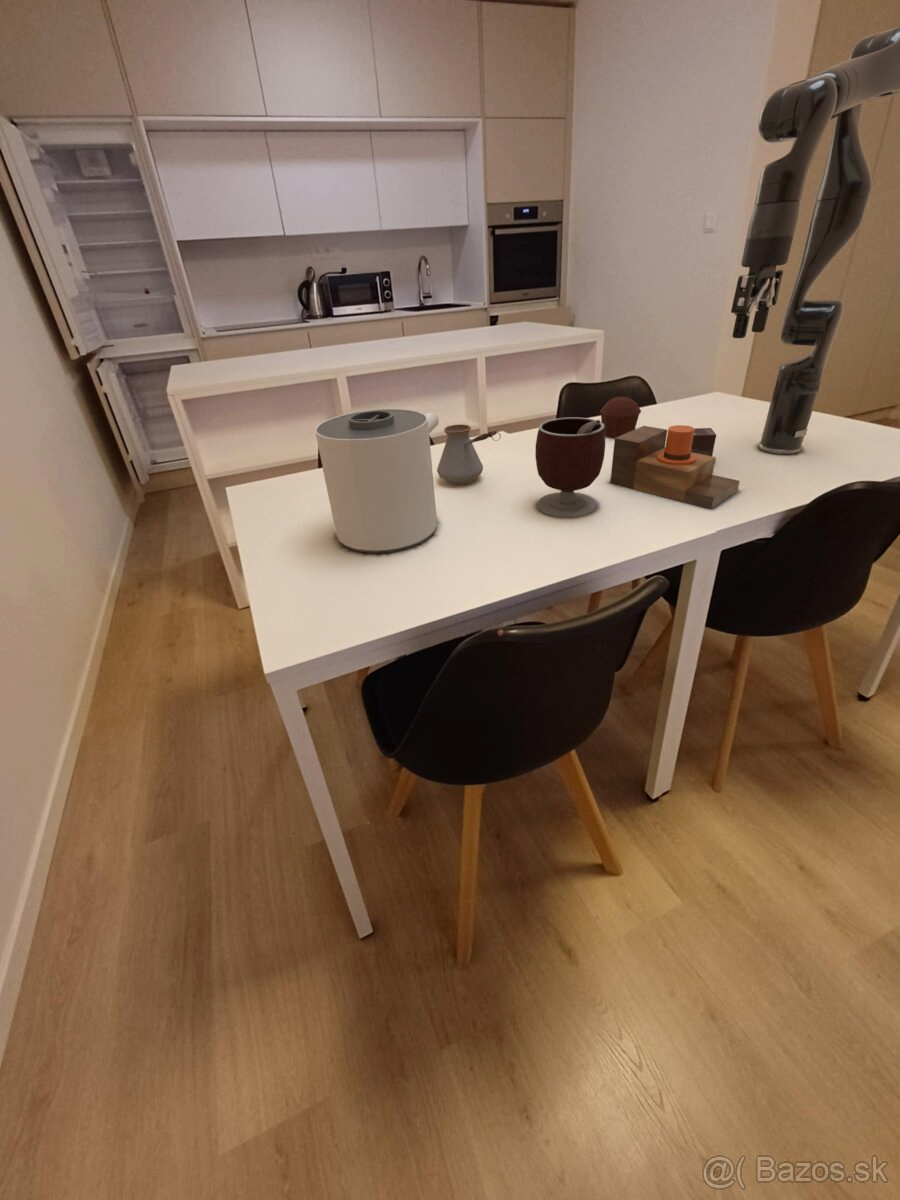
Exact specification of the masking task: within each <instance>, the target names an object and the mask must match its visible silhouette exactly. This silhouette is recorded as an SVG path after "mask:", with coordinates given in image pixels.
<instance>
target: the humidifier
mask: <svg viewBox="0 0 900 1200" xmlns="http://www.w3.org/2000/svg"><path fill="white" fill-rule="evenodd" d="M439 422H440V420H439V417H438V415H437V414H436V413H434V412H428V413H426V414H425V413H423V412H421V411H418V410H414V409H413V410H412V409H407V408H406V409H405V408H379V409H378V408H377V409H367V410H361V411H355V412H350V413H343V414H340V415H338V416H334V417H332V418H328V419H326V420H324V421H322V422H320V423H319V424H318V425H317V426H316V427H315V429H314V433H315V438H316V442H317V448H318V453H319V457H320V462H321V467H322V472H323V475H324V476H323V477H324V481H325V485H326V492H327V495H328V501H329V505H330V510H331V515H332V519H333V525H334V529H335V535H336V538H337V540H338V542H339V543H340V544H341V545H342V546H343V547H345V548H347V549H349V550H352V551H355V552H358V553H366V554H387V553H394V552H401V551H405V550H407V549H410V548H413V547H415V546H419V545H421V544H422V543H424V542H426V541H427V540H429V538H431V537H432V536H433V535H434V534H435V533H436V530H437V527H438V518H437V517H438V516H437V507H436V506H437V505H436V494H435V484H434V473H433V462H432V461H433V460H432V452H431V451H432V449H431V440H430V439H431V437H430V433H432V431H433V430H434V429H435V428H436V427H437V426H438V425H439Z"/></svg>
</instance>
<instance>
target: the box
mask: <svg viewBox="0 0 900 1200" xmlns="http://www.w3.org/2000/svg"><path fill="white" fill-rule="evenodd" d="M693 428H694V429H695V431H694V436H693V442H692V447H691V452H693V453H698V454H703V455H708V456H713V453H714V448H715V444H716V440H717V439H716V438H717V433H716V432H715V431H714V430H713V428H712V427H698V428H697V427H696V428H695V427H693Z"/></svg>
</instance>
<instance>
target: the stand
mask: <svg viewBox="0 0 900 1200" xmlns="http://www.w3.org/2000/svg"><path fill="white" fill-rule="evenodd" d="M667 434H668V429H666V428H659V427H654V426H649V425H642V426H639V427H637V428H635V430H633V431H630V432H628V433H626V434H623V435H621V436H619V437H616V438H614V441H613V450H612V451H613V452H612V462H611V471H610V479H609V480H610V482H609V483H610V484H613V485H616V486H617V485H618V486H621V487H624V488H629V489H633V490H637V491H640V492H644V493H648V494H652V495H655V496H660V497H663V498H667V499H672V500H675V501H678V502H683V503H687V504H690V505H694V506H698V507H702V508H706V509H709V510H712V509H714V508H715V507H717V506H718V505H720V504H721V503H723V502H724V501H725V500H727V499H728V498H730V497H732V496H733V495H735V494H736V493H737V492H738V491H739V487H740V482H741V480H739V479H734V478H729V477H725V476H720V475H716V474H713V473H714V470H715V469H714V468H715V464H716V459H717V457H716V456H713V455H712V456H708V455H703V454H698V453H693V452H691V453H692V454H694V455H696V457H697V458H696V461H695V462H694V463H692V464H688V465H670V464H665V463H662V462H660V461H658V460H657V455H658V454H659V453H661V452H664V451H665V447H666V440H667Z"/></svg>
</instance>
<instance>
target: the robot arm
mask: <svg viewBox="0 0 900 1200" xmlns="http://www.w3.org/2000/svg"><path fill="white" fill-rule="evenodd" d="M898 93H900V26H898V27H897V26H896V27H894V28H890V29H886V30H884V31H880V32H877V33H873V34H871V35H867V36H865V37H863V38H861V39H860V40H858V41H857V43H856V44H855V46H854V47H853V48H852V50H851V52H850V54H849V57H848V59H847V60H844V61H842V62H839V63H837V64H834V65H831V66H830V67H828V68H826V69H824V70H822V71H820V72H819V73H817V74H816V75H813V76H811V77H808V78H806V79H801V80H798V81H795V82H792V83H789V84H787V85H784V86H781V87H779V88H778V89H776V90H775V91H773V92H772V93H771V95H770V96H769V97H768V98H767V100H766V101H765V103H764V104H763V106H762V109H761V111H760V114H759V119H758V133H759V135H760V137H761V139H762V140H763V141H764V142H766V143H768V144H779V143H783V142H789V141H794V143H793V145H792V147H791V148H790V150H789V151H788V153H786V154H785V155H784V156H782V157H780V158H778V159H775V160H772V161H771V162H769V163H767V164H766V165H764V166H763V168H762V170H761V172H760V175H759V180H758V186H757V189H756V195H755V200H754V206H753V209H752V213H751V216H750V219H749V224H748V227H747V233H746V237H745V243H744V249H743V254H742V258H741V263H740V264H741V267H743V268H748V269H749V270H748V273H747V275H746V274H745V275H739V276H738V278H737V283H736V287H735V291H734V296H733V301H732V306H731V310H730V312H731V314H734V316H735V320H734V326H733V330H732V338H733V339H744V338H745V337H746V336H747V331H748V328H749V322H750V318H751V314H752V311H753V309H754V307H755V308H756V309H755V312H754V317H753V322H752V325H751V332H752V333H763V332H764V331H765V329H766V325H767V320H768V316H769V311H771V310H772V307H773V306H776V304H777V302H778V297H779V292H780V288H781V283H782V279H783V275H784V270H783V269H777V267H779V266H784V265H786V264H788V261H789V257H790V253H791V248H792V245H793V240H794V235H795V232H796V228H797V223H798V218H799V214H800V213H799V212H800V204H801V199H802V195H803V192H804V188H805V183H806V182H805V181H806V178H807V175H808V172H809V168H810V166H811V163H812V162H813V158H814V156H815V154H816V151H817V149H818V147H819V145H820V143H821V141H822V139H823V137H824V134H825V132H826V130H827V129H828V127H829V124H830V122H831V121H832V120H833V119H834V125H833V129H832V134H831V135H832V136H831V140H830V144H829V149H828V154H827V156H826V162H825V166H824V169H823V174H822V176H821V181H820V184H819V188H818V191H817V195H816V199H815V202H814V207H813V210H812V214H811V218H810V222H809V226H808V231H807V235H806V240H805V245H804V249H803V253H802V259H801V262H800V266H799V269H798V272H797V276H796V279H795V283H794V285H793V289H792V293H791V296H790V300H789V302H788V305H787V309H786V311H785V315H784V319H783V322H782V326H781V331H780V341H781V344H782V345H784V346H794V347H795V346H796V347H797V346H798V347H814V348H813V351H812V352H810V353H808V354H807V355H804V356H802V357H800V358H796V359H792V360H788V361H785V362H783V363H782V364H781V365H779V368H778V371H777V375H776V379H775V383H774V387H773V391H772V396H771V399H770V403H769V407H768V410H767V415H766V419H765V423H764V426H763V431H762V435H761V438H760V442H759V444H758V448H759V449H760V450H761V451H763V452H765V453H770V454H774V455H775V454H776V455H792V454H798V453H800V452H801V451H802V448H803V443H804V440H805V436H807V433H808V431H809V430H808V426H809V424H810V420H811V416H812V413H813V410H814V406H815V403H816V400H817V396H818V394H819V390H820V386H821V384H822V379H823V376H824V373H825V369H826V365H827V362H828V359H829V355H830V353H831V350H832V347H833V344H834V341H835V338H836V337H837V332H838V330H839V327H840V324H841V321H842V318H843V314H844V307H845V306H844V302H843V301H842V300H840V299H808V298H809V295H810V293H811V291H812V289H813V287H814V285H815V283H816V281H817V280H818V279H819V277H820V276H821V274H822V273H823V272H824V270H825V269H826V268H827V267H828V266H829V264H830V263H831V262H832V261H833V260H834V259H835V258H836V256H837V255H838V254H839V253H840V252H841V251H842V250H843V249H844V248H845V247H846V245H847V244H848V243H849V242H850V241H851V240H852V238H853V237H854V236H855V235H856V233H857V232H858V231H859V229H860V227H861V225H862V223H863V220H864V217H865V213H866V211H867V207H868V203H869V200H870V196H871V193H872V189H873V177H872V172H871V168H870V165H869V163H868V160H867V157H866V153H865V151H864V148H863V143H862V140H861V139H862V138H861V120H862V119H861V117H862V113H863V112H862V111H863V107H864V103H865V102H869V101H872V100H877V99H882V98H887V97H890V96H893V95H895V94H898Z"/></svg>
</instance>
